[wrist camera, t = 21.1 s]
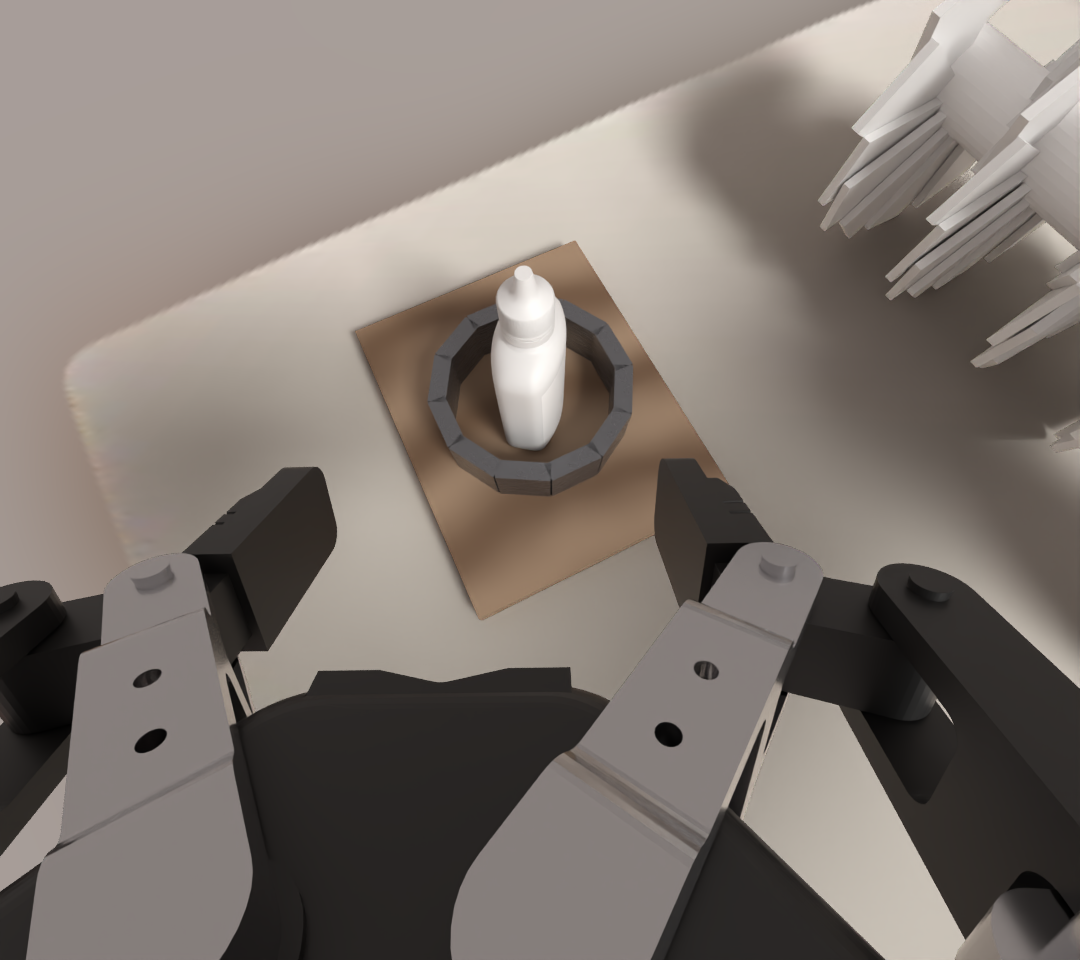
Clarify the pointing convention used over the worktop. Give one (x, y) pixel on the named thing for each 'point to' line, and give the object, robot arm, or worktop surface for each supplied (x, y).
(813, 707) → the worktop surface
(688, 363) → the worktop surface
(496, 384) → the eye dropper bottle
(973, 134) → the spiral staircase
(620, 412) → the ring collar
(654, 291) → the worktop surface
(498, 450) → the walnut board
